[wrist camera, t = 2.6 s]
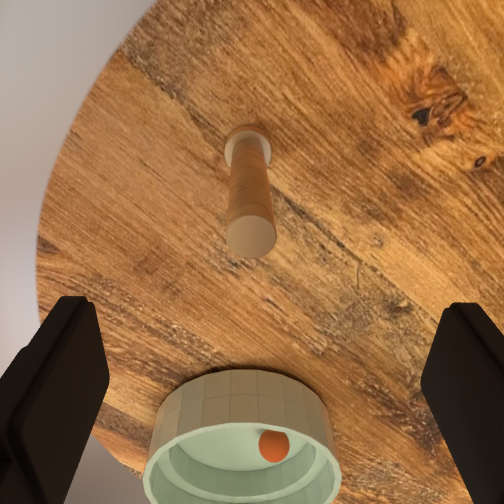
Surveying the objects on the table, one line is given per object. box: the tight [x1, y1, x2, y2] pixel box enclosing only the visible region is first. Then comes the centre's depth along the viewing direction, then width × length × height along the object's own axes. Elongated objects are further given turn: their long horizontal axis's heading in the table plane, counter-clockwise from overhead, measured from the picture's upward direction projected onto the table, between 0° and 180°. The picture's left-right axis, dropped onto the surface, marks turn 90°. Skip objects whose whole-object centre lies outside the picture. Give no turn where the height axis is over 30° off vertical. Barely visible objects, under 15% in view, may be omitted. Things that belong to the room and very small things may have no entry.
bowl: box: [142, 370, 342, 504], centre depth 38 cm, size 17×17×6 cm
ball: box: [258, 429, 290, 463], centre depth 39 cm, size 3×3×3 cm
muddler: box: [224, 125, 277, 259], centre depth 21 cm, size 3×3×12 cm
